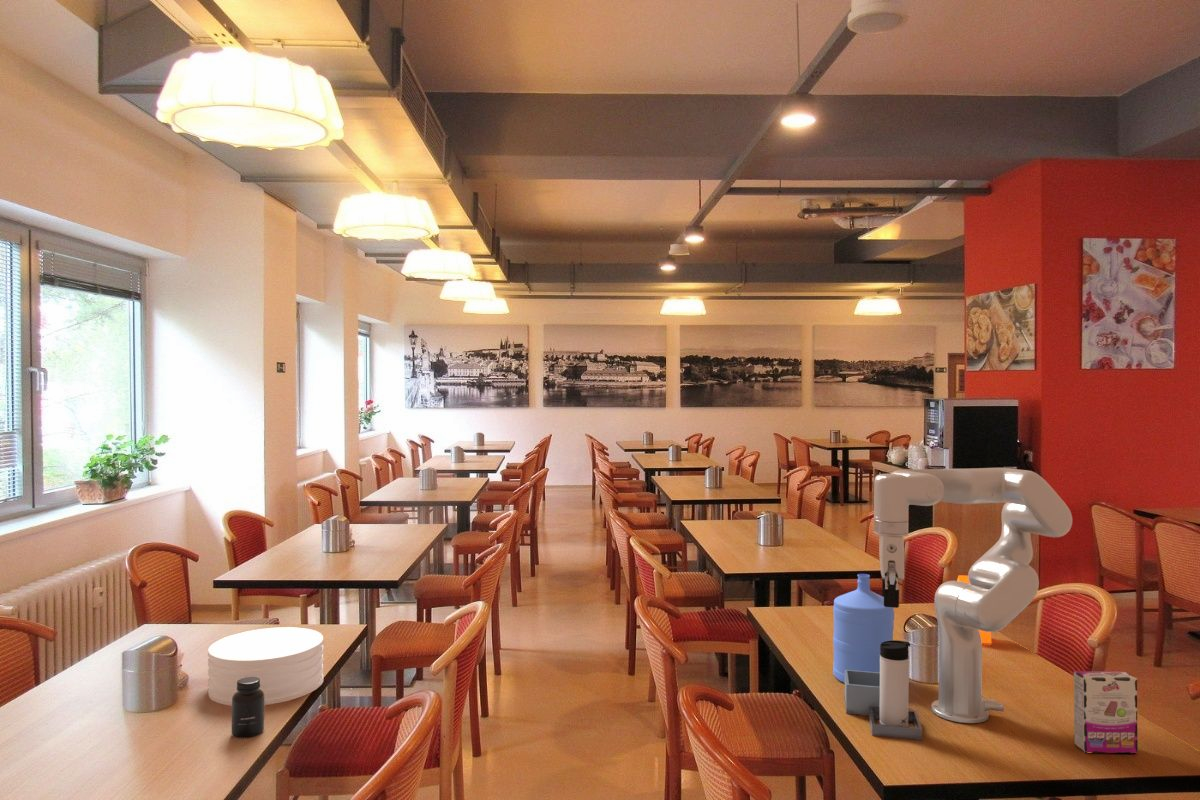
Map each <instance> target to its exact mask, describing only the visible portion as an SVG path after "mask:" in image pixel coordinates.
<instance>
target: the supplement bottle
mask: <svg viewBox="0 0 1200 800" xmlns="http://www.w3.org/2000/svg"><path fill="white" fill-rule="evenodd" d="M259 688H260V679H259V678H258V677H246V678H242V679H240V680H238V681H237V692H236V693H235V694H234V695H233V697H232V706H231V735H232V737H234V738H238V739H249V738H253V737H256V736H258V735H261V734H262V733H263V731H264V730H265V705H264V692H263V691H262V690H261V689H259Z"/></svg>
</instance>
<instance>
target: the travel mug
mask: <svg viewBox="0 0 1200 800" xmlns="http://www.w3.org/2000/svg"><path fill="white" fill-rule="evenodd" d="M910 647H911V643H910V642H909V641H907V640H906V641H905V640H897V639H895V640H894V639H893V640H892V641H885V642H882V643H881V645H880V719H879V724H884V725H894V726H904V727H909V722H908V710H909V707H910V706H909V701H910V699H909V689H910V686H909V683H910V680H909V679H910V673H909V671H910V670H909V669H910V667H909V666H910V664H909V663H910V661H909V660H910V659H909V658H910V657H909V652H910V651H909V648H910Z"/></svg>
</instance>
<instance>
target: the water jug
mask: <svg viewBox="0 0 1200 800" xmlns="http://www.w3.org/2000/svg"><path fill="white" fill-rule="evenodd" d="M870 577H871V576H870V574H869V573H868V574H867V573H858V574H857V588H856V589H855V590H852V591H849V592H846V593H844V594H841V595H839V596H837V597H835V598H834V600H833V608H832V609H833V610H832V611H833V613H832V614H833V639H832V640H833V641H832V643H833V666H832V673H833V676H834V678H836V679H837V680H838V681H840V682H841V683H843V684H845V670H856V671H868V672H880V645H881V643H882V642H885V641H892V640H894V630H895V629H894V628H895V627H894V625H895V624H894V623H895V610H894V607H885V606H884V596H883V595H880V594H877V593H876V592H874V591H872V590H871V588H870V587H871V586H870V584H871V581H870Z"/></svg>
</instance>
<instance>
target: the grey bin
mask: <svg viewBox="0 0 1200 800" xmlns="http://www.w3.org/2000/svg"><path fill="white" fill-rule="evenodd" d="M844 703H845V706H844V707H845V714H848V715H856V714H860V715H859V716H866V715H868V717H869V707H879V708H880V672H868V671H856V670H845V683H844Z"/></svg>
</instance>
